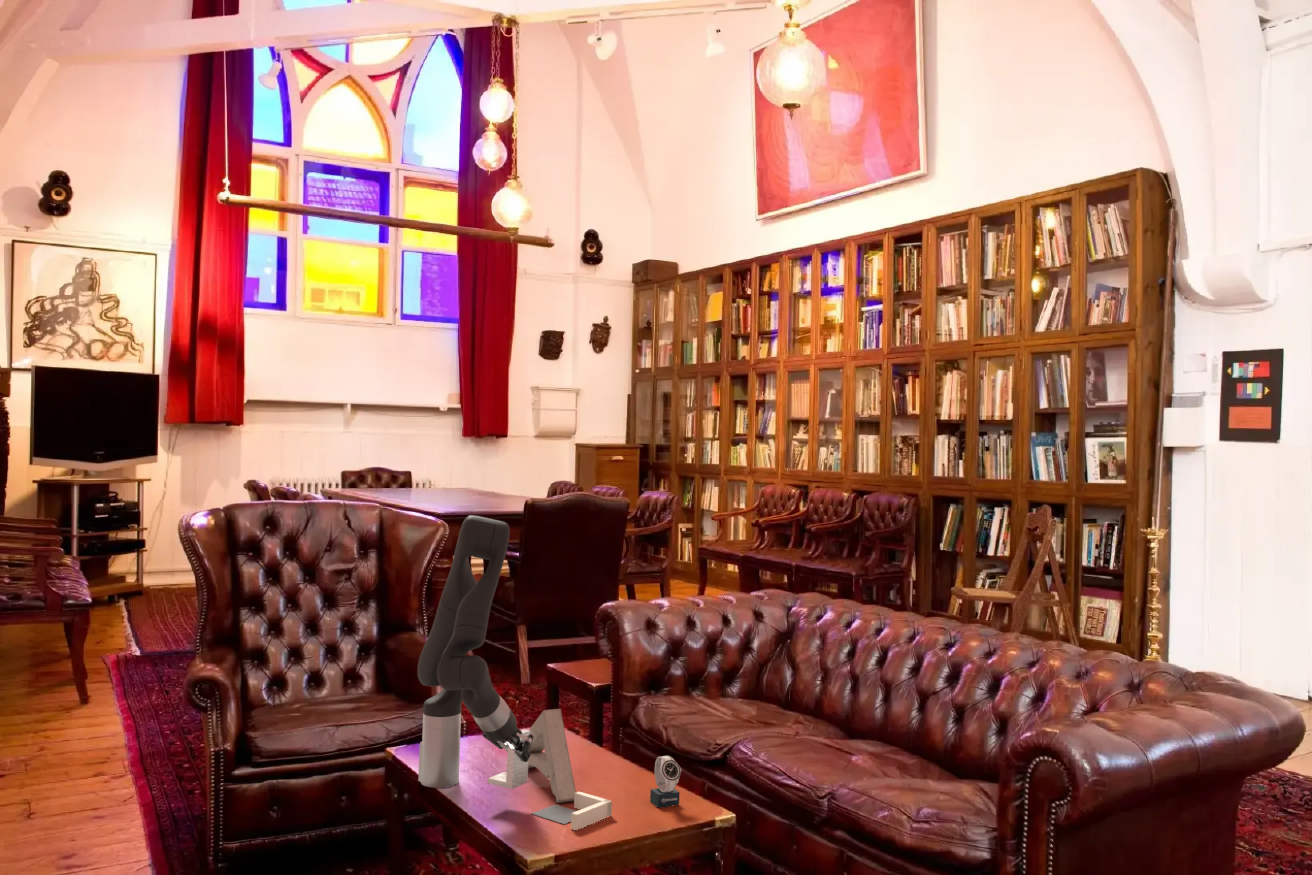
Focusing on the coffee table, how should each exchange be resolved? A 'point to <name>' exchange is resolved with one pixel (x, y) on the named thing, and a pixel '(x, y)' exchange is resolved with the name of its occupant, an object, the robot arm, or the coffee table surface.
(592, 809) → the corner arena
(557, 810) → the mat
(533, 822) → the coffee table surface
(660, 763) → the watch
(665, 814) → the coffee table surface
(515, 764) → the angle bracket
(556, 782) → the letter a
